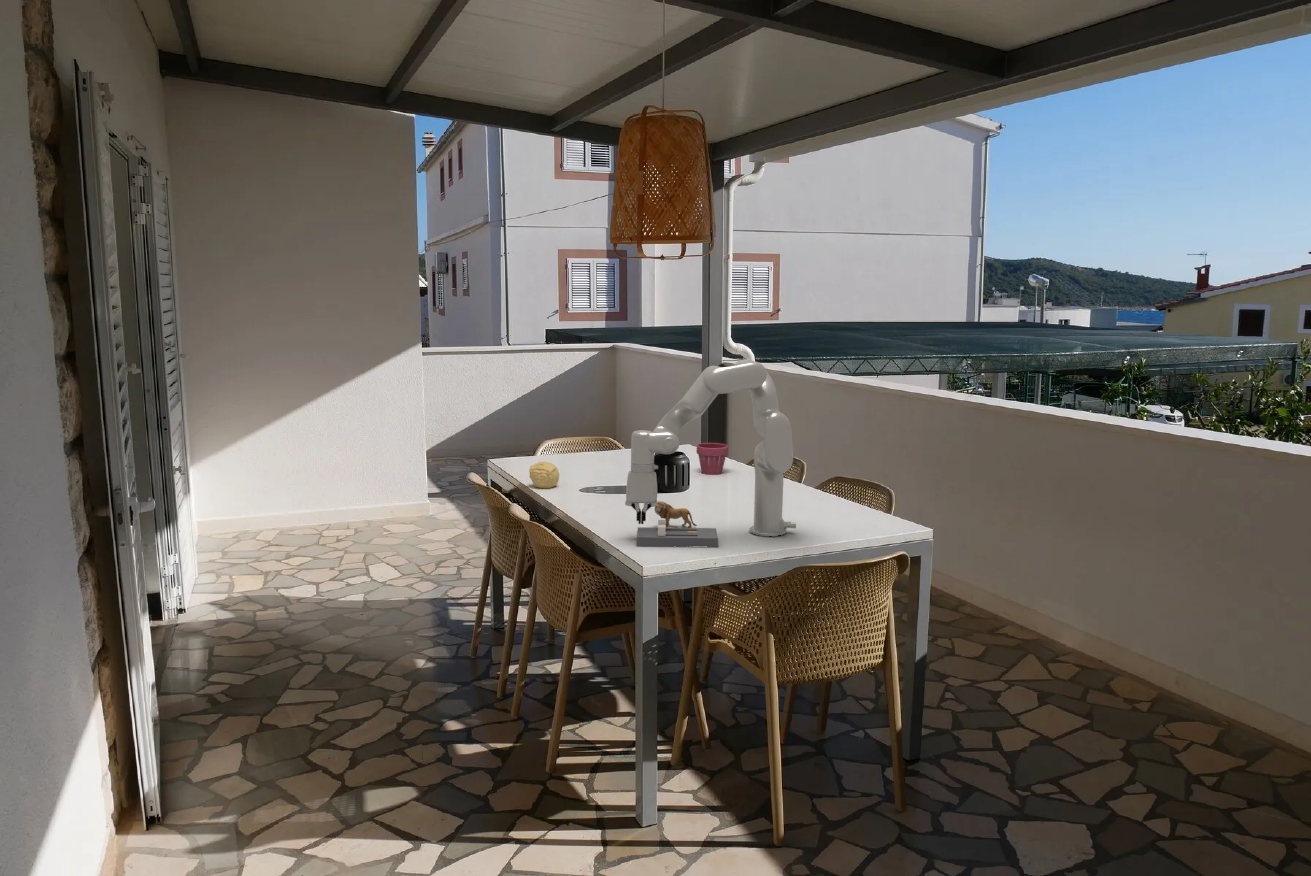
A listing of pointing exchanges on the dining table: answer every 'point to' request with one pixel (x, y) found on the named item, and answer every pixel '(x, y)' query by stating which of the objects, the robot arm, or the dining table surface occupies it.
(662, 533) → the switch
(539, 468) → the sculpture
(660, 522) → the switch
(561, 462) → the dining table surface
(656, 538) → the switch board
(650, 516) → the dining table surface
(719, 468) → the plant pot
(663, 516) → the lion figurine
